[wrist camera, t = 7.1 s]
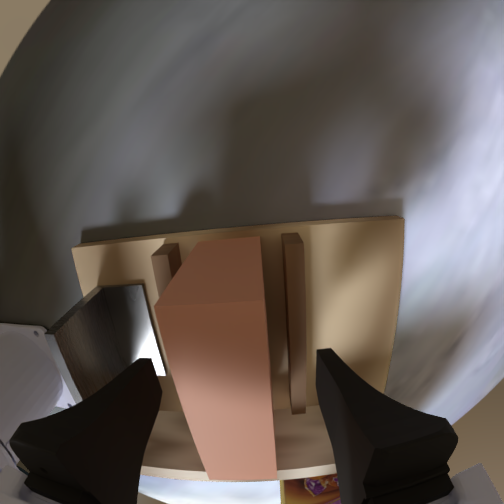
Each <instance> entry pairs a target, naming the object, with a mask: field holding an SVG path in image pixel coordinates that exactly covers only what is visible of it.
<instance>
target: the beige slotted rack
mask: <svg viewBox="0 0 504 504" xmlns="http://www.w3.org/2000/svg"><path fill="white" fill-rule="evenodd" d="M404 221H405V219H404V218H401V217H399V216H397V215H395V216H378V217H361V218H346V219H331V220H317V221H303V222H290V223H277V224H265V225H253V226H242V227H231V228H220V229H209V230H199V231H188V232H178V233H169V234H159V235H150V236H141V237H132V238H123V239H114V240H105V241H97V242H89V243H81V244H78V245H76V246H75V247H73V248H71V249H72V254H73V258H74V262H75V266H76V271H77V275H78V278H79V282H80V286H81V290H82V293H83V297H85V296H86V295H87V294H88V293H89V292H90V291H91V290H93V289H94V288H95V287H96V286H101V285H120V284H138V283H144V287H145V292H146V296H147V300H148V304H149V309H150V313H151V317H152V321H153V325H154V329H155V332H156V336H157V340H158V343H159V347H160V351H161V354H162V358H163V361H164V364H165V368H166V371H167V375H166V376H158V379H159V382H160V385H161V388H162V391H163V393H162V398H161V403H160V408H159V412H158V415H157V418H156V420H155V423H154V426H153V429H152V432H151V435H150V437H149V440H148V443H147V446H146V449H145V453H144V457H143V462H142V467H141V473H140V475H147V476H154V477H161V478H170V479H180V480H193V481H212V482H256V481H275V480H288V479H298V478H307V477H315V476H322V475H329V474H335V473H337V471H336V465H335V459H334V454H333V449H332V445H331V441H330V438H329V435H328V432H327V429H326V425H325V422H324V419H323V416H322V413H321V409H320V406H319V402H318V397H317V391H316V385H315V384H316V350H317V349H325V348H331V349H333V350H334V352H335V353H336V354H337V355H338V356H339V357H340V358H341V359H342V360H343V361H344V362H345V363H346V364H347V365H348V366H349V367H350V368H351V369H352V370H353V371H354V372H355V373H356V374H357V375H359V376H360V377H361V378H362V379H363V380H364V381H366V382H367V383H368V384H370V385H371V386H372V387H374V388H375V389H376V390H378V391H379V392H381V393H383V394H384V390H385V386H386V381H387V376H388V371H389V366H390V361H391V355H392V350H393V344H394V337H395V331H396V324H397V316H398V308H399V299H400V290H401V279H402V266H403V250H404ZM257 236H260V243H261V254H262V266H263V278H264V290H265V303H266V315H267V327H268V340H269V353H270V366H271V379H272V394H273V410H274V427H275V444H276V462H277V479H263V480H209V478H208V475H207V473H206V470H205V468H204V465H203V463H202V460H201V458H200V455H199V453H198V450H197V447H196V445H195V442H194V439H193V437H192V434H191V431H190V428H189V426H188V423H187V420H186V417H185V414H184V411H183V408H182V405H181V402H180V399H179V396H178V393H177V390H176V386H175V383H174V380H173V377H172V373H171V370H170V366H169V363H168V360H167V356H166V352H165V349H164V345H163V341H162V338H161V334H160V330H159V326H158V322H157V318H156V314H155V310H154V305H155V304H156V302H157V301H158V299H159V298H160V296H161V295H162V293H163V292H164V290H165V289H166V287H167V286H168V284H169V283H170V281H171V280H172V278H173V277H174V276H175V274H176V273H177V271H178V270H179V268H180V267H181V265H182V264H183V262H184V261H185V260H186V258H187V257H188V255H189V254H190V252H191V251H192V250H193V248H194V247H195V245H196V244H197V242H200V241H211V240H222V239H233V238H245V237H257Z"/></svg>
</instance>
